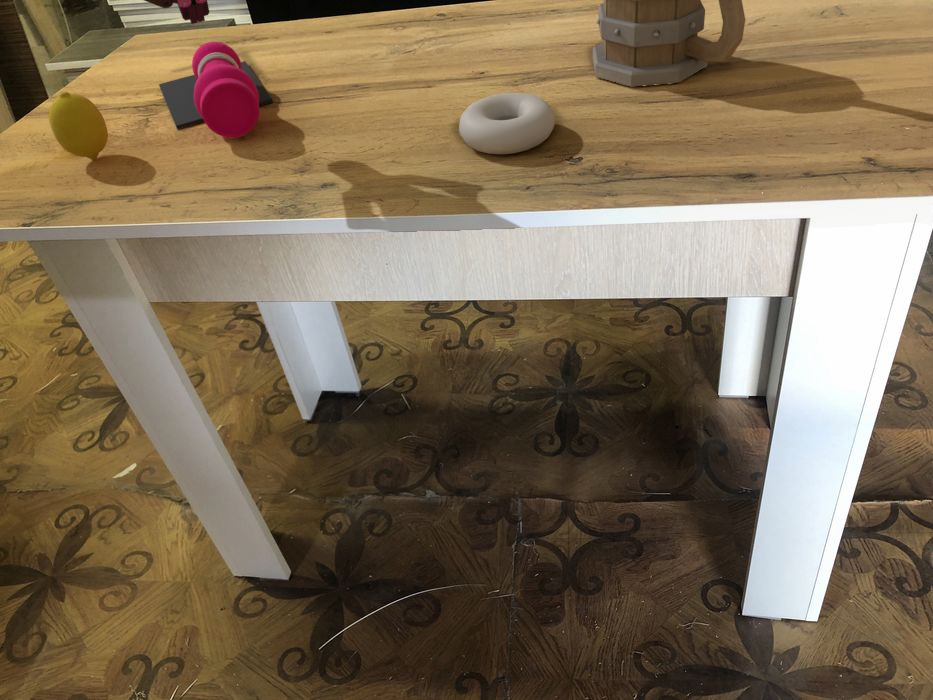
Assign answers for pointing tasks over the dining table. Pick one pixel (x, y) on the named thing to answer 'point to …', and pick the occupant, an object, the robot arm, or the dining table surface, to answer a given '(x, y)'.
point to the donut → (506, 123)
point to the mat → (182, 98)
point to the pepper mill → (224, 91)
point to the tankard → (661, 40)
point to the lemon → (78, 125)
